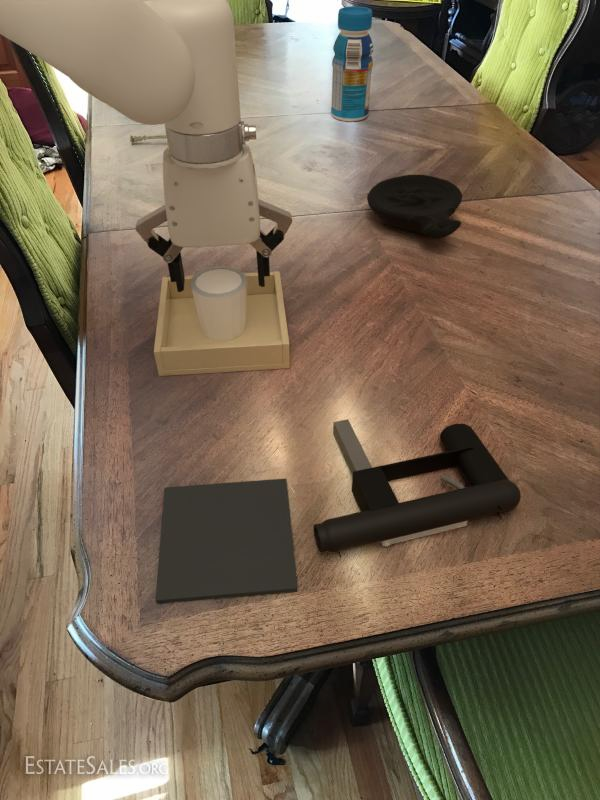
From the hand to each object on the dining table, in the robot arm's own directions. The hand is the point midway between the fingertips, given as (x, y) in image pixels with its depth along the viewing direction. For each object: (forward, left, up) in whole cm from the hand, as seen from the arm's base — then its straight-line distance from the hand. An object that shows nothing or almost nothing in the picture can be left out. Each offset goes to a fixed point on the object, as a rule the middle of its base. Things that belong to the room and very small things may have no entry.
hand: (221, 282), depth 74 cm
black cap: (+31, +25, -8) cm, 40 cm away
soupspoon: (-7, +62, -8) cm, 63 cm away
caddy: (0, 0, -7) cm, 7 cm away
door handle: (+17, -26, -8) cm, 32 cm away
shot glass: (0, 0, -7) cm, 7 cm away
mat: (0, -31, -7) cm, 32 cm away
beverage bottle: (+28, +75, -8) cm, 80 cm away
